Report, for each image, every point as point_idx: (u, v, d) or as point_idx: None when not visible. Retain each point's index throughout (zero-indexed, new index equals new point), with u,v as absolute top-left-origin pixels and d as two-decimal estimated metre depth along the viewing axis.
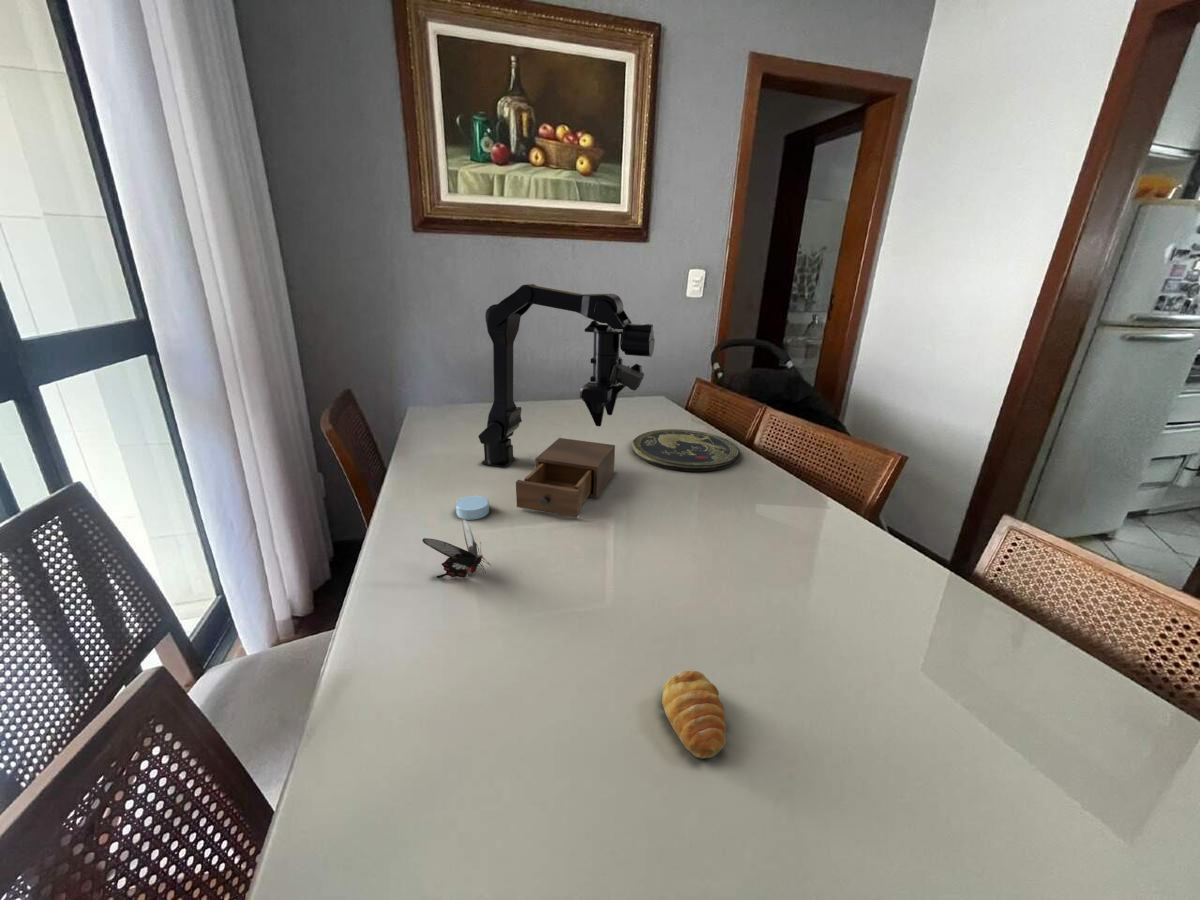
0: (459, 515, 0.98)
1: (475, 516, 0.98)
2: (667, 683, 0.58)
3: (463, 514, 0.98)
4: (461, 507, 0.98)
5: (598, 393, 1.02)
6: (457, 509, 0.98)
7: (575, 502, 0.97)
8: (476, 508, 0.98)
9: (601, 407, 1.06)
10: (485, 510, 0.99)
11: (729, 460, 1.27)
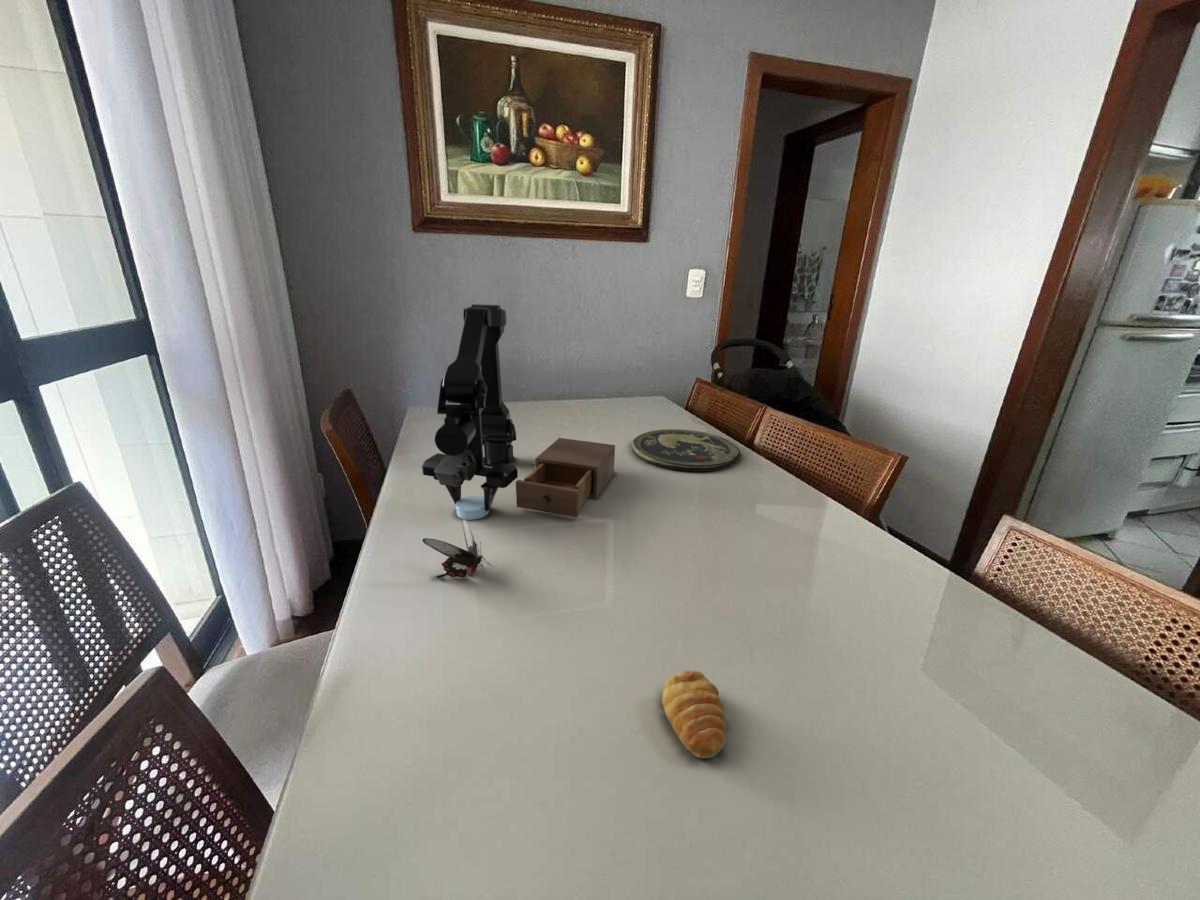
0: (459, 515, 0.98)
1: (475, 516, 0.98)
2: (667, 683, 0.58)
3: (463, 514, 0.98)
4: (461, 507, 0.98)
5: None
6: (457, 509, 0.98)
7: (575, 502, 0.97)
8: (476, 508, 0.98)
9: None
10: (485, 510, 0.99)
11: (729, 460, 1.27)
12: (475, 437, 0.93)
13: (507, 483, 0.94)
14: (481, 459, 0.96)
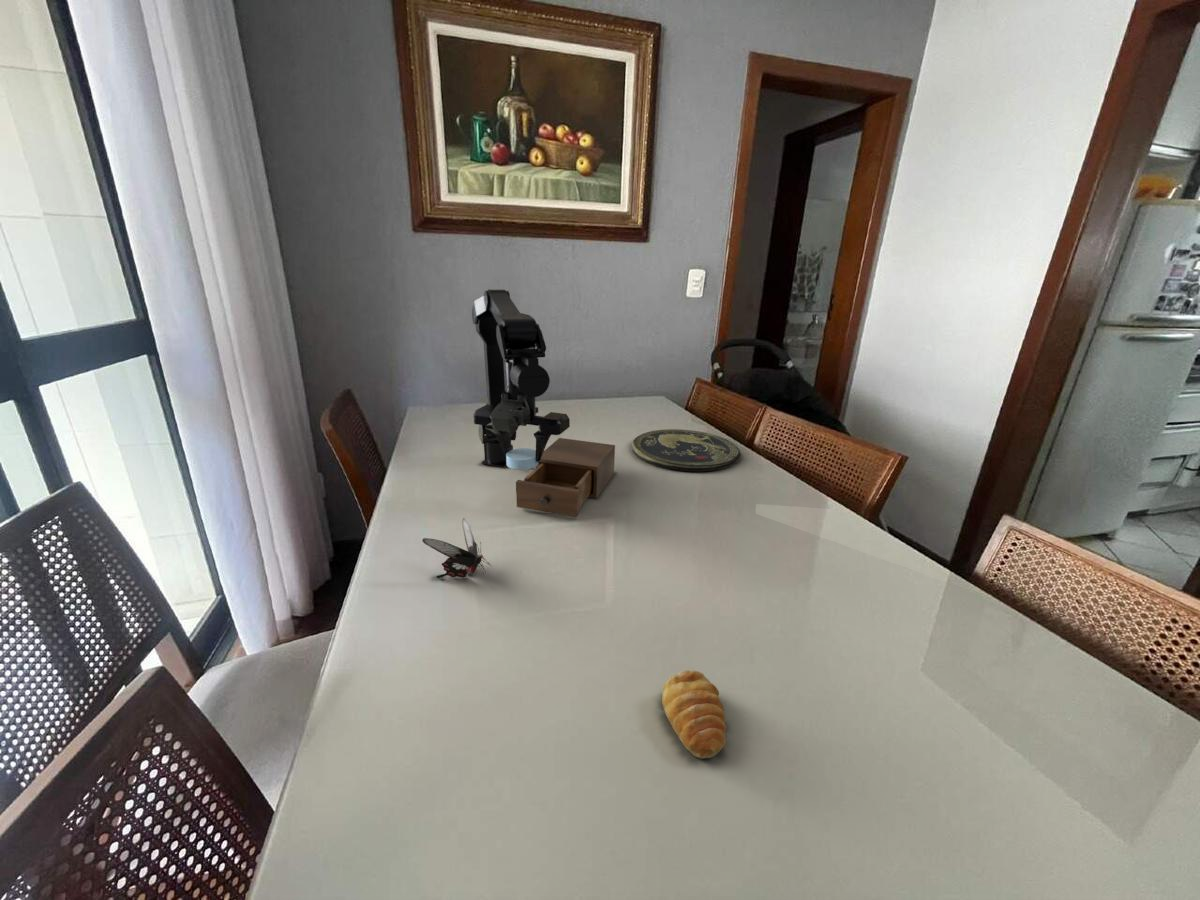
0: (510, 465, 0.98)
1: (526, 466, 0.97)
2: (667, 683, 0.58)
3: (514, 464, 0.97)
4: (512, 457, 0.97)
5: None
6: (508, 459, 0.98)
7: (575, 502, 0.97)
8: (527, 458, 0.97)
9: None
10: (535, 461, 0.98)
11: (729, 460, 1.27)
12: None
13: (561, 431, 0.93)
14: (534, 408, 0.95)
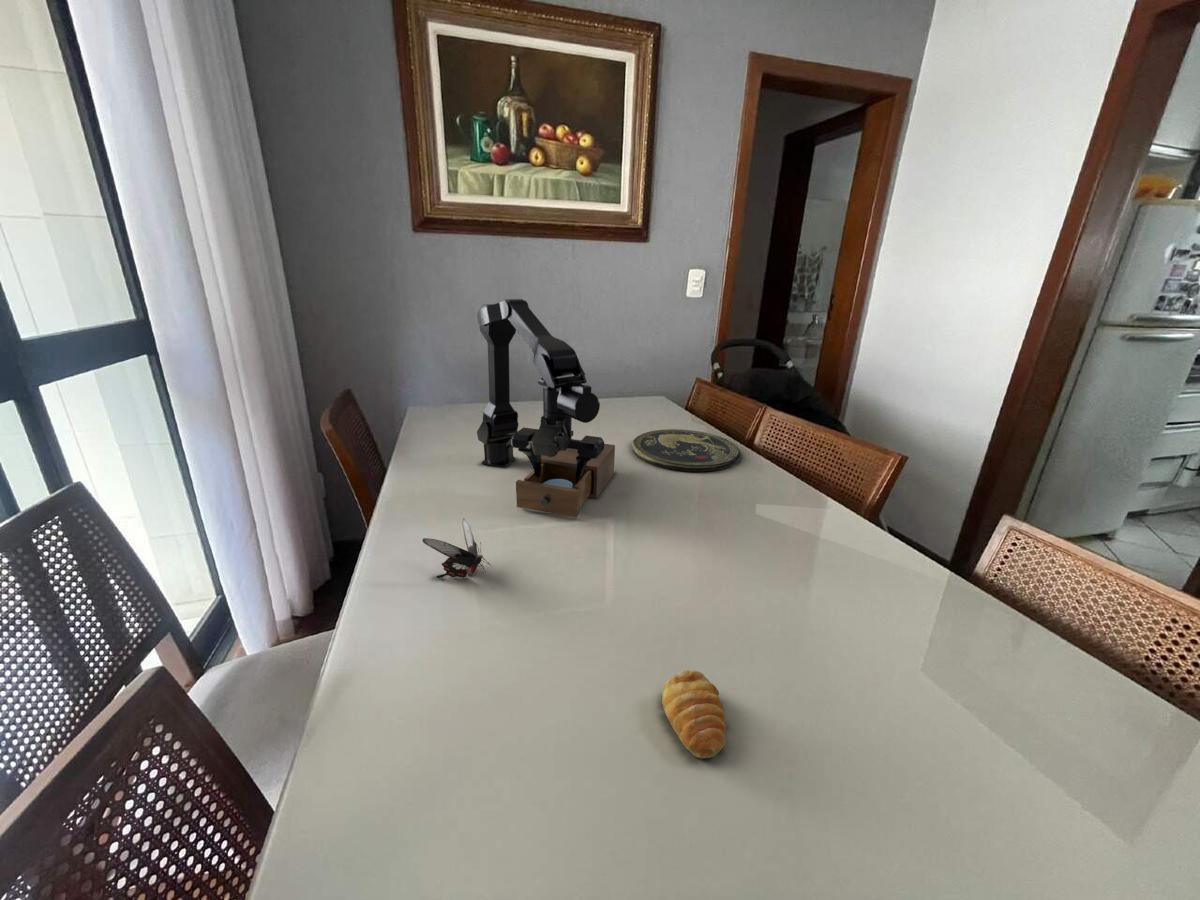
0: None
1: None
2: (667, 683, 0.58)
3: None
4: None
5: None
6: None
7: (575, 502, 0.97)
8: None
9: None
10: None
11: (729, 460, 1.27)
12: None
13: (597, 454, 0.97)
14: (570, 432, 0.99)
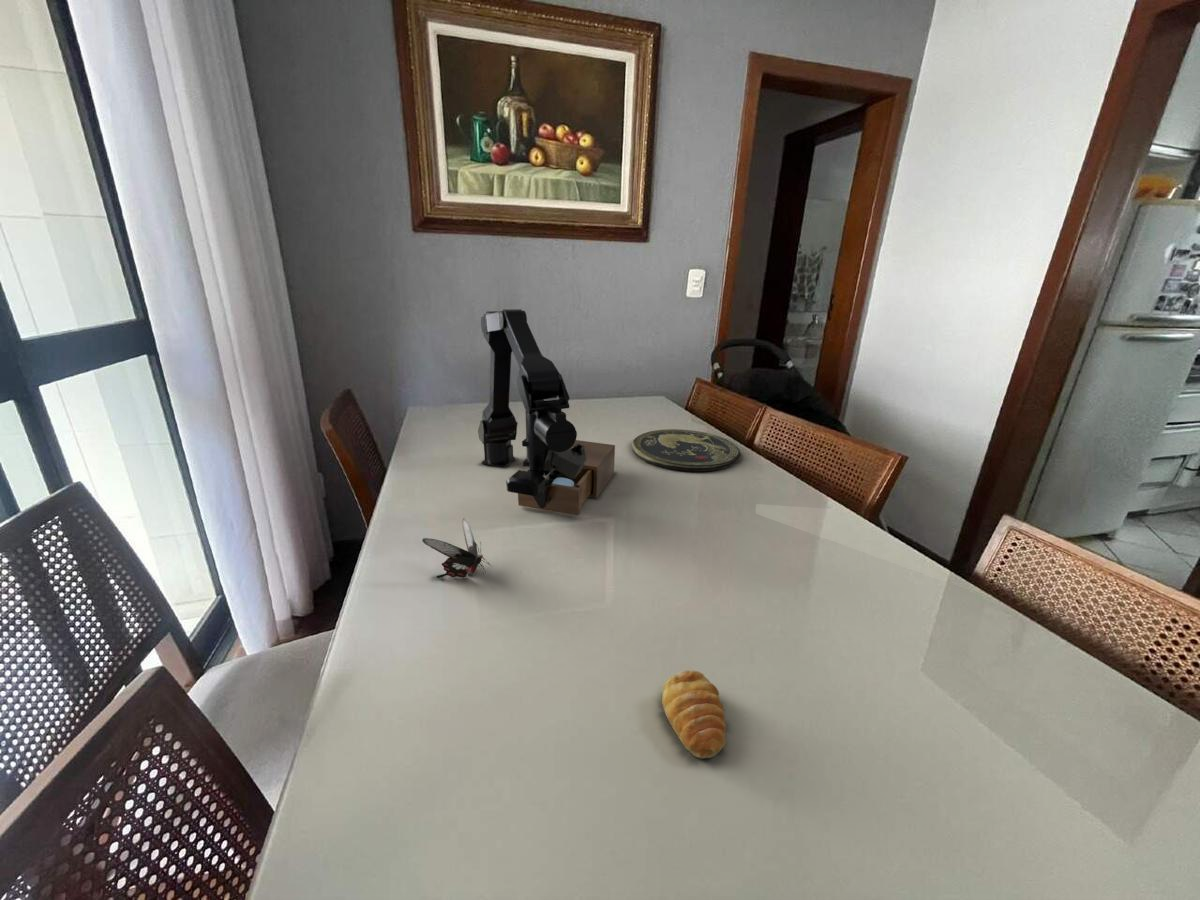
0: None
1: None
2: (667, 683, 0.58)
3: None
4: None
5: (527, 487, 0.86)
6: None
7: (577, 501, 0.98)
8: None
9: (543, 489, 0.94)
10: None
11: (729, 460, 1.27)
12: None
13: None
14: None
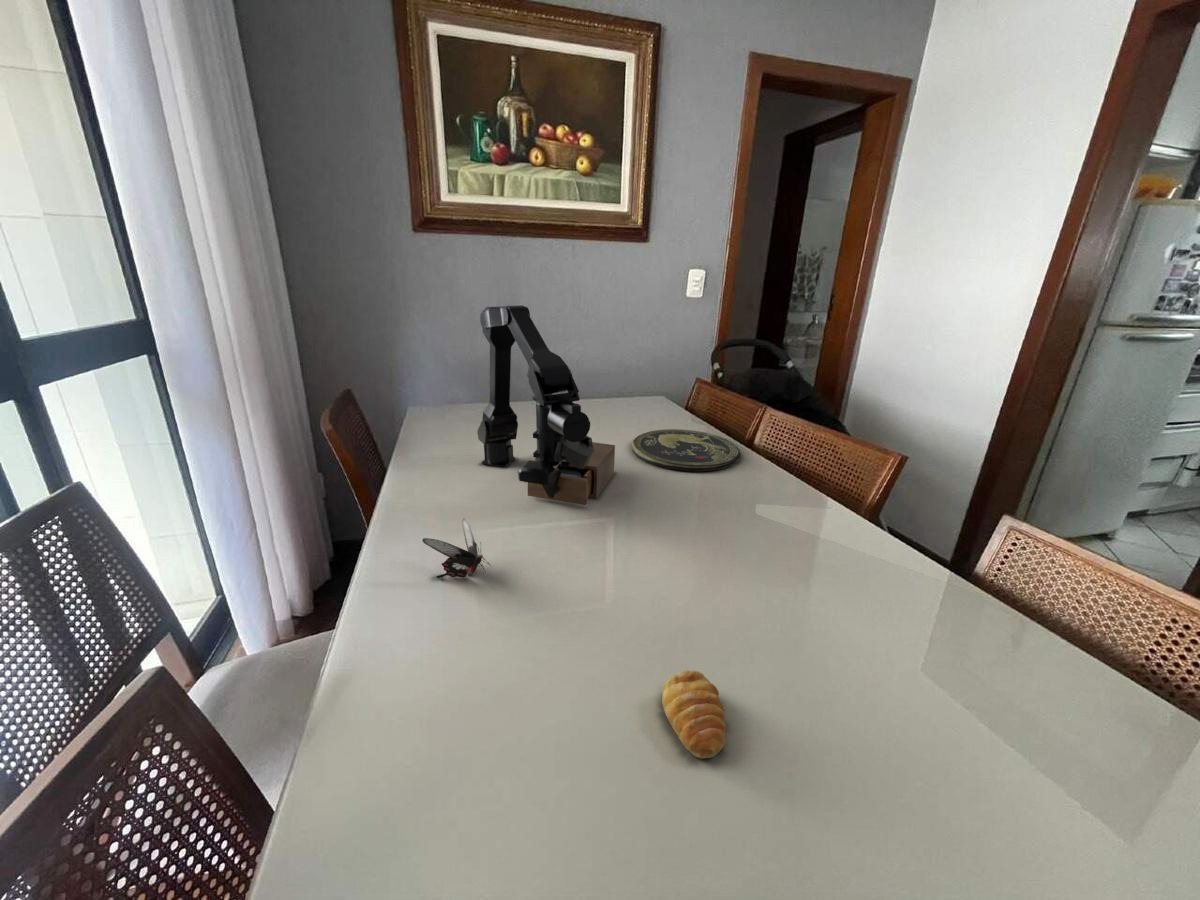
0: None
1: None
2: (667, 683, 0.58)
3: None
4: None
5: (538, 476, 0.90)
6: None
7: (584, 491, 1.02)
8: None
9: (552, 479, 0.98)
10: None
11: (729, 460, 1.27)
12: None
13: None
14: None
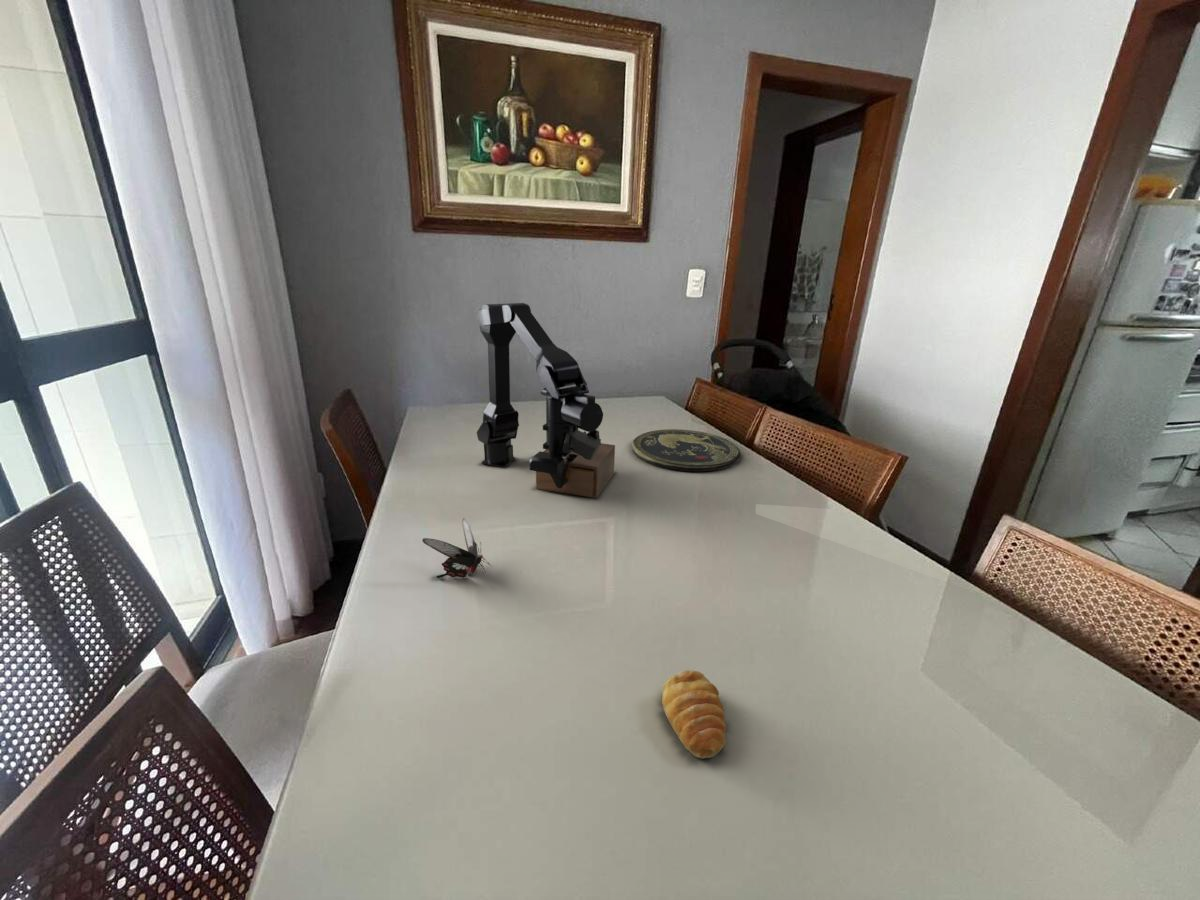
0: None
1: None
2: (667, 683, 0.58)
3: None
4: None
5: (547, 465, 0.94)
6: None
7: (591, 482, 1.06)
8: None
9: (561, 470, 1.02)
10: None
11: (729, 460, 1.27)
12: None
13: None
14: None
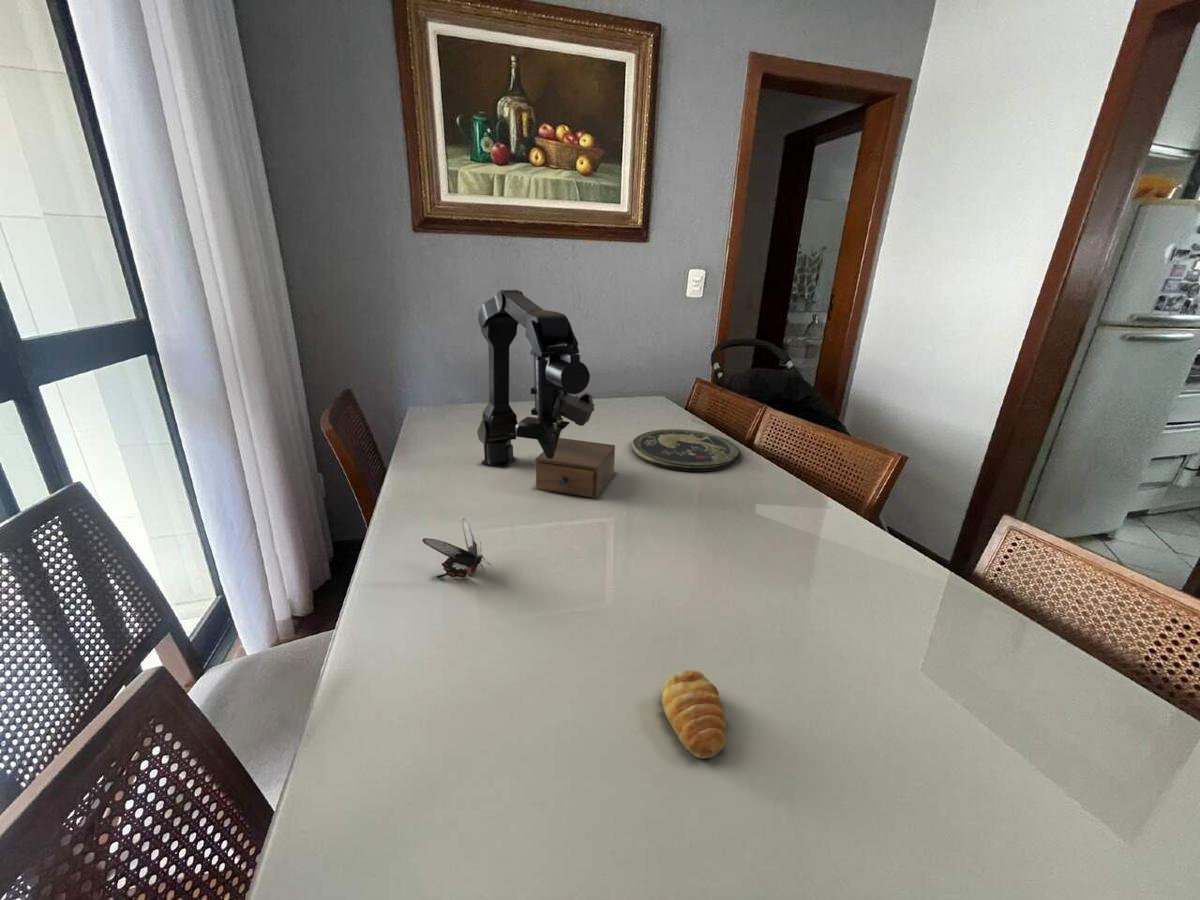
0: None
1: None
2: (667, 683, 0.58)
3: None
4: None
5: (536, 431, 0.86)
6: None
7: (591, 482, 1.06)
8: None
9: (551, 438, 0.94)
10: None
11: (729, 460, 1.27)
12: None
13: None
14: None
